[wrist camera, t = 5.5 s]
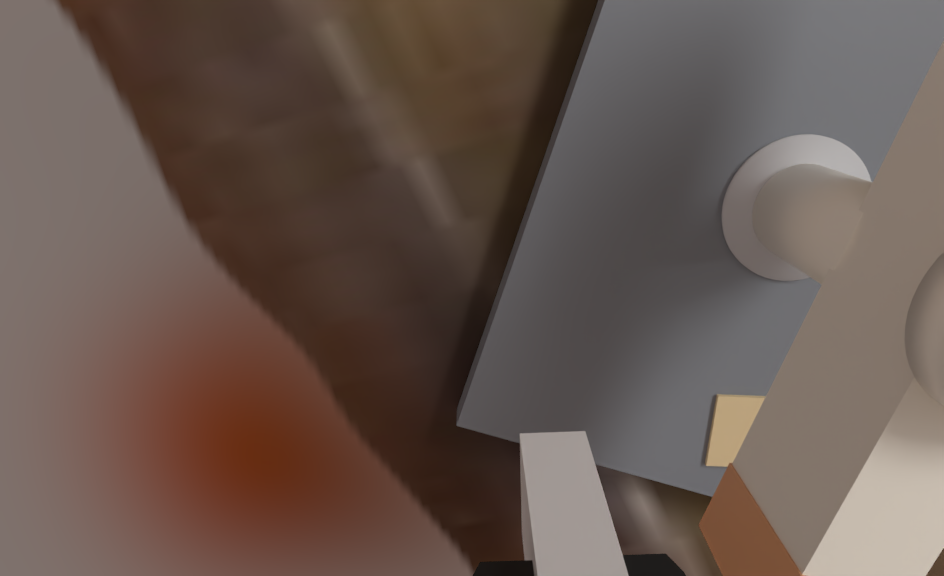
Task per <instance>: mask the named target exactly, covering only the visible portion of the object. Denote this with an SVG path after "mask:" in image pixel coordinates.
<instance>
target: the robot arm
mask: <svg viewBox="0 0 944 576" xmlns="http://www.w3.org/2000/svg"><path fill="white" fill-rule="evenodd" d="M520 473H521V517H522V539H523V549H524V558H525V561H496V562H480V563H479V565H478V567H477V569H476V571H475V572H474V574H473V576H686V575H685V573H684V572H683V571H682V570H681V569H680V568H679V567H678V566H677V565H676V564H675V563H674V562H673V561H672V560H671V559H670V558H669V557H668V556H667V555H666V554H645V555H622V552H621V548H620V545H619V542H618V538H617V535H616V532H615V528H614V525H613V522H612V518H611V515H610V512H609V508H608V505H607V502H606V498H605V495H604V492H603V488H602V485H601V482H600V478H599V475H598V472H597V468H596V465H595V462H594V458H593V455H592V452H591V448H590V445H589V442H588V439H587V435H586V432H585V431H572V432H545V433H520Z"/></svg>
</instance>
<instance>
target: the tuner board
mask: <svg viewBox="0 0 944 576" xmlns="http://www.w3.org/2000/svg"><path fill="white" fill-rule="evenodd" d="M943 41H944V0H598V2H597V5H596V8H595V11H594V14H593V17H592V20H591V23H590V26H589V28H588V31H587V34H586V37H585V40H584V43H583V46H582V49H581V52H580V54H579V57H578V60H577V63H576V66H575V69H574V72H573V75H572V78H571V80H570V83H569V86H568V89H567V92H566V95H565V98H564V101H563V104H562V106H561V109H560V112H559V115H558V118H557V121H556V124H555V127H554V130H553V132H552V135H551V138H550V141H549V144H548V147H547V150H546V153H545V156H544V158H543V161H542V164H541V167H540V170H539V173H538V176H537V179H536V182H535V184H534V187H533V190H532V193H531V196H530V199H529V202H528V205H527V208H526V210H525V213H524V216H523V219H522V222H521V225H520V228H519V231H518V234H517V236H516V239H515V242H514V245H513V248H512V251H511V254H510V257H509V260H508V262H507V265H506V268H505V271H504V274H503V277H502V280H501V283H500V286H499V288H498V291H497V294H496V297H495V300H494V303H493V306H492V309H491V312H490V314H489V317H488V320H487V323H486V326H485V329H484V332H483V335H482V338H481V340H480V343H479V346H478V349H477V352H476V355H475V358H474V361H473V364H472V366H471V369H470V372H469V375H468V378H467V381H466V384H465V387H464V390H463V392H462V395H461V398H460V401H459V404H458V407H457V423H456V426H459V427H463V428H466V429H470V430H473V431H477V432H481V433H484V434H488V435H491V436H495V437H499V438H502V439H506V440H509V441H513V442H517V443H520V433H545V432H572V431H585V432H586V435H587V439H588V442H589V445H590V448H591V452H592V455H593V458H594V462H595V464H596V465H599V466H603V467H607V468H610V469H614V470H617V471H621V472H625V473H628V474H632V475H635V476H639V477H643V478H646V479H650V480H653V481H657V482H661V483H664V484H668V485H671V486H675V487H679V488H682V489H686V490H689V491H693V492H697V493H700V494H704V495H707V496H711V497H713V495H714V493H715V491H716V489H717V487H718V485H719V483H720V481H721V479H722V477H723V475H724V473H725V471H726V469H727V467H728V465H729V463H733V461H734V459H735V457H736V455H737V453H738V451H739V449H740V447H741V445H742V443H743V441H744V439H745V437H746V435H747V433H748V431H749V429H750V427H751V425H752V423H753V421H754V419H755V417H756V415H757V413H758V411H759V409H760V407H761V405H762V403H763V401H764V399H765V397H766V395H767V393H768V391H769V389H770V387H771V385H772V383H773V381H774V379H775V377H776V375H777V373H778V371H779V369H780V367H781V365H782V363H783V361H784V359H785V357H786V355H787V353H788V351H789V349H790V347H791V345H792V343H793V341H794V339H795V337H796V335H797V333H798V331H799V329H800V327H801V325H802V323H803V321H804V319H805V317H806V315H807V313H808V311H809V309H810V307H811V305H812V303H813V301H814V299H815V297H816V295H817V293H818V291H819V289H820V287H821V284H820V283H818V282H817V281H815V280H814V279H812V278H811V277H809V276H808V275H806V274H804V273H803V272H801V271H800V270H798V269H797V268H795V267H794V266H792V265H791V264H789V263H788V262H786V261H785V260H783V259H782V258H780V257H779V256H777V255H776V254H774V253H773V252H771V251H770V250H768V249H767V248H766V247H765V246H764V245H763V244H762V243H761V242H760V241H759V239H758V238H757V236H756V234H755V231H754V228H753V222H752V213H753V207H754V203H755V200H756V198H757V196H758V194H759V192H760V190H761V189H762V187H763V186H764V185H765V184H766V182H767V181H768V180H769V179H770V178H771V177H773V176H774V175H775V174H777V173H778V172H780V171H782V170H783V169H785V168H788V167H790V166H794V165H798V164H816V165H820V166H824V167H827V168H830V169H833V170H836V171H839V172H842V173H845V174H848V175H852V176H855V177H858V178H861V179H864V180H867V181H870V182H873V181H874V179H875V177H876V175H877V173H878V171H879V169H880V167H881V165H882V163H883V161H884V159H885V157H886V155H887V153H888V151H889V149H890V147H891V145H892V143H893V141H894V139H895V137H896V135H897V133H898V131H899V129H900V127H901V125H902V123H903V121H904V119H905V117H906V115H907V113H908V111H909V109H910V107H911V105H912V103H913V101H914V99H915V97H916V95H917V93H918V91H919V89H920V87H921V85H922V83H923V81H924V79H925V77H926V75H927V73H928V71H929V69H930V67H931V65H932V63H933V61H934V59H935V57H936V55H937V53H938V51H939V49H940V47H941V45H942V43H943Z"/></svg>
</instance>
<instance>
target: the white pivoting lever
mask: <svg viewBox="0 0 944 576" xmlns="http://www.w3.org/2000/svg"><path fill="white" fill-rule="evenodd" d="M752 222H753V228H754V231H755V234H756V236H757V238H758V239H759V241H760V242H761V243H762V244H763V245H764V246H765V247H766V248H767V249H768V250H770V251H771V252H773V253H774V254H776V255H777V256H779V257H780V258H782V259H783V260H785V261H786V262H788V263H789V264H791V265H792V266H794V267H795V268H797V269H798V270H800V271H801V272H803V273H804V274H806V275H808V276H809V277H811V278H812V279H814V280H815V281H817V282H818V283H820V284H821V287H820V289H819V291H818V293H817V295H816V297H815V299H814V301H813V303H812V305H811V307H810V309H809V311H808V313H807V315H806V317H805V319H804V321H803V323H802V325H801V327H800V329H799V331H798V333H797V335H796V337H795V339H794V341H793V343H792V345H791V347H790V349H789V351H788V353H787V355H786V357H785V359H784V361H783V363H782V365H781V367H780V369H779V371H778V373H777V375H776V377H775V379H774V381H773V383H772V385H771V387H770V389H769V391H768V393H767V395H766V397H765V399H764V401H763V403H762V405H761V407H760V409H759V411H758V413H757V415H756V417H755V419H754V421H753V423H752V425H751V427H750V429H749V431H748V433H747V435H746V437H745V439H744V441H743V443H742V445H741V447H740V449H739V451H738V453H737V455H736V457H735V459H734V461H733V463H729V465H728V467H727V469H726V471H725V473H724V475H723V477H722V479H721V481H720V483H719V485H718V487H717V489H716V491H715V493H714V495H713V497H712V499H711V501H710V503H709V505H708V507H707V509H706V511H705V513H704V515H703V517H702V519H701V521H700V523H699V527H700V529H701V531H702V534H703V536H704V538H705V540H706V542H707V544H708V546H709V548H710V550H711V552H712V554H713V556H714V558H715V560H716V562H717V565H718V567H719V569H720V571H721V573H722V575H723V576H926V575H927V573H928V572H929V570H930V568H931V567H932V565H933V564H934V562H935V561H936V559H937V557H938V556H939V554H940V553H941V551H942V550H943V548H944V41H943V43H942V45H941V47H940V49H939V51H938V53H937V55H936V57H935V59H934V61H933V63H932V65H931V67H930V69H929V71H928V73H927V75H926V77H925V79H924V81H923V83H922V85H921V87H920V89H919V91H918V93H917V95H916V97H915V99H914V101H913V103H912V105H911V107H910V109H909V111H908V113H907V115H906V117H905V119H904V121H903V123H902V125H901V127H900V129H899V131H898V133H897V135H896V137H895V139H894V141H893V143H892V145H891V147H890V149H889V151H888V153H887V155H886V157H885V159H884V161H883V163H882V165H881V167H880V169H879V171H878V173H877V175H876V177H875V179H874V181H873V182H870V181H867V180H864V179H861V178H858V177H855V176H852V175H848V174H845V173H842V172H839V171H836V170H833V169H830V168H827V167H824V166H820V165H816V164H798V165H794V166H790V167H788V168H785V169H783V170H782V171H780V172H778V173H777V174H775V175H774V176H773V177H771V178H770V179H769V180H768V181H767V182H766V184H765V185H764V186H763V187H762V189H761V190H760V192H759V194H758V196H757V198H756V200H755V203H754V207H753V213H752Z"/></svg>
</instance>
